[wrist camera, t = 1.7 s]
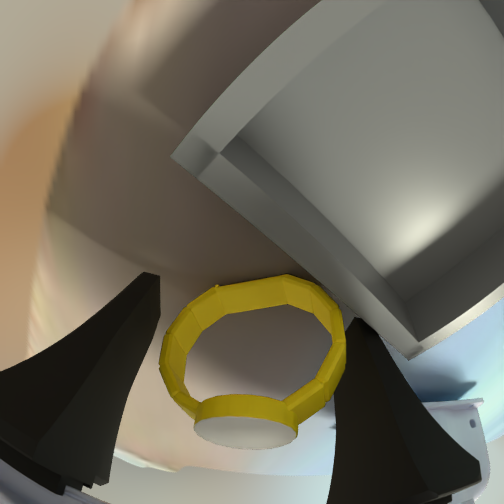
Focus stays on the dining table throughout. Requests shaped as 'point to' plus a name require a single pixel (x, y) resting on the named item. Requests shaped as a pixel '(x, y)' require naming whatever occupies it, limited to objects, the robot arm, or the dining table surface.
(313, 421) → the dining table surface
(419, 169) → the box
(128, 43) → the dining table surface
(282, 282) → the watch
